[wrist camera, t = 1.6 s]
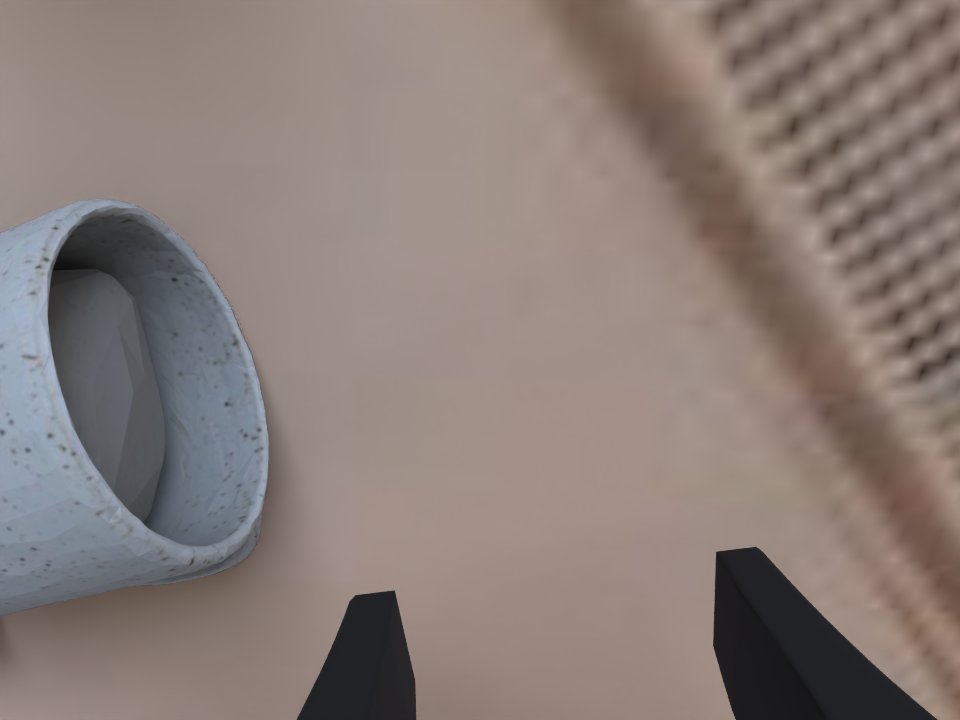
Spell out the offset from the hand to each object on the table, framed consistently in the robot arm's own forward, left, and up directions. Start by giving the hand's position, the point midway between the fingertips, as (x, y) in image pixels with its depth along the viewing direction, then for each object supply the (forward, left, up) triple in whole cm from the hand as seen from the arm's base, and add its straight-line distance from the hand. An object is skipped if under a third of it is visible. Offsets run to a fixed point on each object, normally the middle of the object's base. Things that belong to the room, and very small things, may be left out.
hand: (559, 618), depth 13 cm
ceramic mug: (0, +10, -10) cm, 14 cm away
